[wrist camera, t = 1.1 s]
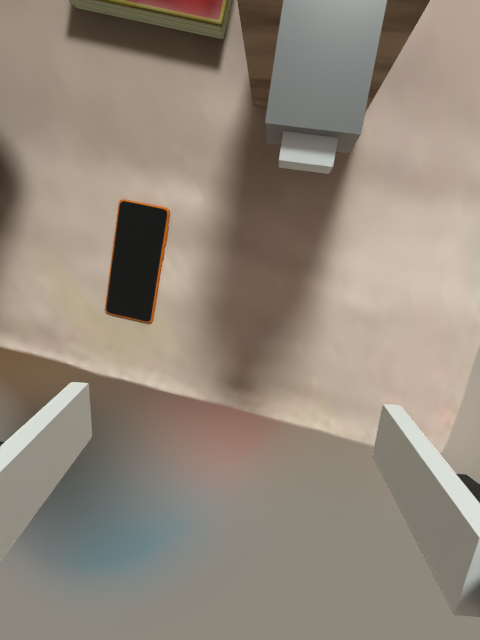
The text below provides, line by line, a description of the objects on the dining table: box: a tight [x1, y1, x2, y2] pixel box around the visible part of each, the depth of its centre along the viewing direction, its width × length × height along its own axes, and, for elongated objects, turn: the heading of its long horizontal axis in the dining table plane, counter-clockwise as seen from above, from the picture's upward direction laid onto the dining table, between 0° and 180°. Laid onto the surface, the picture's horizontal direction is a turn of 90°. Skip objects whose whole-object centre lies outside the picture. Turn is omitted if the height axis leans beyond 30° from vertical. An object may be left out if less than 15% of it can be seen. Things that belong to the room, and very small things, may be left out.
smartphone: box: [105, 200, 170, 323], centre depth 49 cm, size 8×17×1 cm, turn 168°
